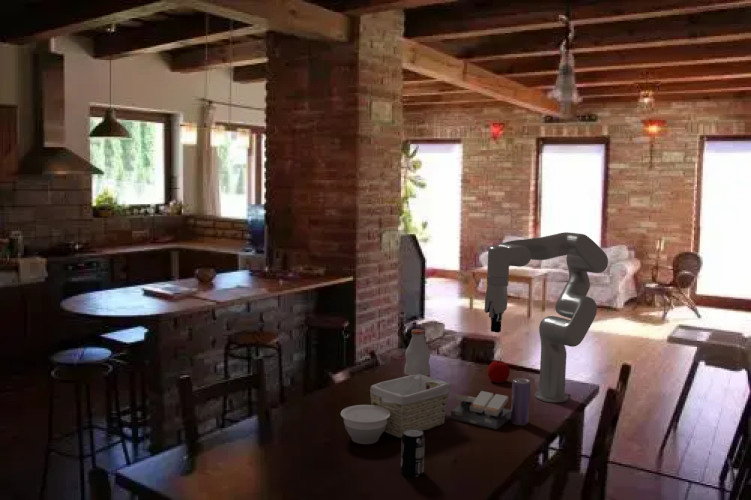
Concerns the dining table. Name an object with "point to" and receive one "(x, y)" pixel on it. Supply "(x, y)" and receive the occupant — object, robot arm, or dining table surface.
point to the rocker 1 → (465, 398)
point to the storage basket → (411, 402)
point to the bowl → (365, 422)
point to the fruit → (498, 371)
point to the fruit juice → (417, 356)
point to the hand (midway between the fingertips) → (495, 331)
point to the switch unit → (479, 416)
